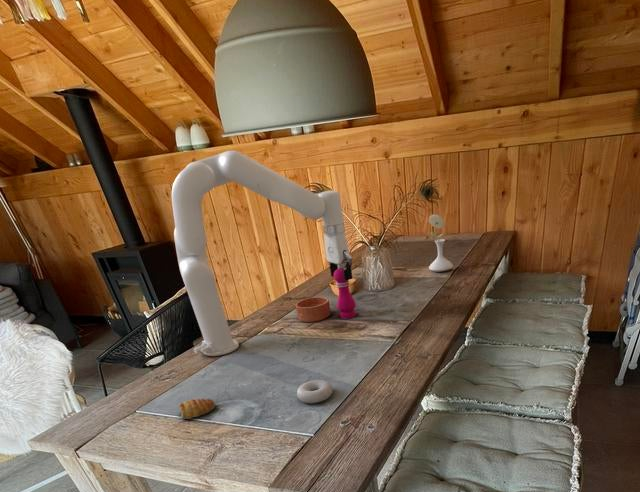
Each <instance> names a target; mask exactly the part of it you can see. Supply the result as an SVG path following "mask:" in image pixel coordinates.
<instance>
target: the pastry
mask: <svg viewBox="0 0 640 492" xmlns="http://www.w3.org/2000/svg"><path fill="white" fill-rule="evenodd" d="M215 407H216V403H215V401H214V400H213V399H211V398H197V399H190V400H184V401H183V403H178V409H179V411H180V414H181V416H180V417H181V419H185V420H190V419H192V418H198V417H200V416H202V415H203V416H204V415H205V414H208V413H209V412H211V411H212V410H214V409H215Z"/></svg>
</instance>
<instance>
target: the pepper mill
mask: <svg viewBox="0 0 640 492" xmlns="http://www.w3.org/2000/svg"><path fill="white" fill-rule="evenodd" d="M337 266H338V269H337V270H336V271H335V272H334V277H333V280H335V281H336V282H335V284H336V287H337V289H338V298H337V302H336V308H337V309H338V310H339V318H341V319H344V320H345V319H346V320H347V319H352V318H354V317H356V314H357V313H356V310H355V308H356V301H355V299H354V297H353V295H352V294H351V292H350V286H349V285H350V280H347V281H346V280H345V279H344V273H343V270H344V268H343V266H342V264H337Z"/></svg>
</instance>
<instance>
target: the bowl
mask: <svg viewBox="0 0 640 492" xmlns="http://www.w3.org/2000/svg"><path fill="white" fill-rule="evenodd" d="M294 306H295V311H296V314H297V318H298V320H299V321H301V322H305V323H314V322H319V321H322V320H324V319H326V318H328V317H329V316H330V315H331V314H332V312H331V305H330V301H329V298H327V297H326V296H325V297H324V296H314V297H308V298H307V297H306V298H304V299H301V300H298V301H297V302H296V303H295V304H294Z"/></svg>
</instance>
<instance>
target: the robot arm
mask: <svg viewBox="0 0 640 492" xmlns="http://www.w3.org/2000/svg"><path fill="white" fill-rule="evenodd" d="M232 182H234V183H236V184H238V185H240V186H241V187H243V188H246V189H248V190H250V191H251V192H253V193H255V194H257V195H259V196H260V197H262V198H265V199H267V200H270V201H271V202H274V203H277V204H280V205H283V206H285V207H288V208H290V209H292V210H294V211H296V212H297V213H298V214H299V215H300V216H302V217H303V218H307V219H310V220H314V221H315V220H320V219H321V223H322V228H323V237H324V238H323V239H324V240H323V241H324V251H325V253H324V254H325V258H326V261H327V262H328V267H329V272H330V276H331V277H333V278H334V272H335V271H336V270H337V269H339V268H338V265H339V264H341V265H342V266H343V267H342V268H344V270H343V273H344V279H345V280H346V281H347V280H348V281H350V280H353V273H352V272H353V271H352V268H353V267H352V265H353V257H352V255H351V254H350V250H349V244H348V240H347V236H346V230H345V223H344V215H343V209H342V202H341V195H340V193H339V191H338V190H324V191H321V192H318V193H317V192H316V193H315V192H313V191H311V190H309V189H307V188H305V187H304V186H302V185H300V184H298V183H296V182H295V181H292V180H290V179H288V178H287V177H286V176H284V175H282V174H280V173H279V172H276V171H275V170H273V169H271V168H269V167H268V166H266V165H263V164H262V163H260V162H258V161H256V160H255V159H253V158H251V157H249V156H247V155H246V154H245V153H242V152H241V151H237V150H232V149H231V150H226V151H224V152H220V153H218V154H216V155H215V154H214V155H211V156H209V157H206V158H205V157H204V158H203V159H199V160H196V161H191V162H190V163H188V164H187V165H186V167H184V169H182V170H180V172H179V173H178V174H177V176H176V178H175V179H174V181H173V184H172V188H171V205H172V213H173V220H174V221H173V222H174V230H173V239H174V244H175V251H176V257H177V263H178V267H179V272H180V275H181V278H182V281H183V284H184V286H185V289H186V292H187V295H188V298H189V300H190V304H191V306H192V309H193V312H194V315H195V318H196V320H197V321H196V322H197V323H198V327H199V329H200V332H201V336H202V338H203V340H202V341H201V344H200V345H199V346H196V347H194V348H193V352H194V353H195V354H198V353H202V354H204V355H205V356H208V357H218V356H222V355H227V354H229V353H232V352H234V351H236V350H237V349H238V348H239V346H240V343H239V341H238V340H236V339H234V338H233V335H232V333H231V330H230V326H229V323H228V320H227V316H226V313H225V310H224V307H223V304H222V301H221V296H220V293H219V291H218V286H217V283H216V278H215V276H214V272H213V270H212V269H211V266H210V265H209V263H208V256H207V249H206V248H207V244H208V239H207V234H206V229H205V223H204V218H203V207H202V204H203V203H202V202H203V198H204V196H205V195H206V194H207V193H209V192H211V191H212V190H213V189H214V188H218V187H221V186H224V185H227V184H229V183H232Z"/></svg>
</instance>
